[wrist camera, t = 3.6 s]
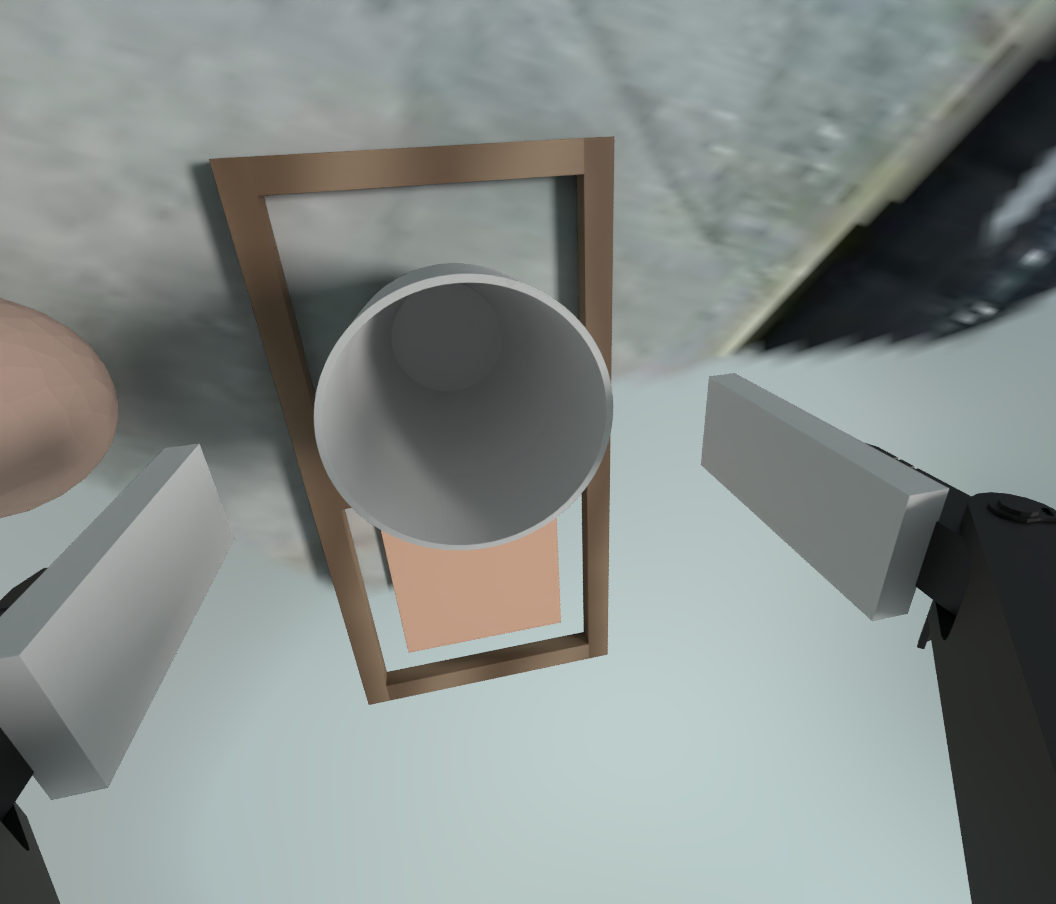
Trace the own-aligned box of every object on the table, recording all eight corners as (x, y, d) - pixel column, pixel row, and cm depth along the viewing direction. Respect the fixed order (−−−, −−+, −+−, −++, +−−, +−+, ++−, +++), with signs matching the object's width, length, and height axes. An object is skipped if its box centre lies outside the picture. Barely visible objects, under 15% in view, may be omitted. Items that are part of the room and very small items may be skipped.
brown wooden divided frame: (369, 690, 31) (368, 704, 31) (217, 160, 19) (208, 158, 18) (602, 642, 34) (607, 654, 33) (605, 138, 21) (614, 136, 20)
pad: (408, 648, 31) (408, 652, 30) (379, 519, 27) (379, 522, 26) (559, 618, 32) (560, 622, 32) (554, 491, 28) (555, 494, 28)
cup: (393, 445, 25) (386, 585, 16) (316, 273, 21) (252, 334, 12) (555, 390, 25) (634, 498, 17) (509, 212, 22) (579, 230, 13)
